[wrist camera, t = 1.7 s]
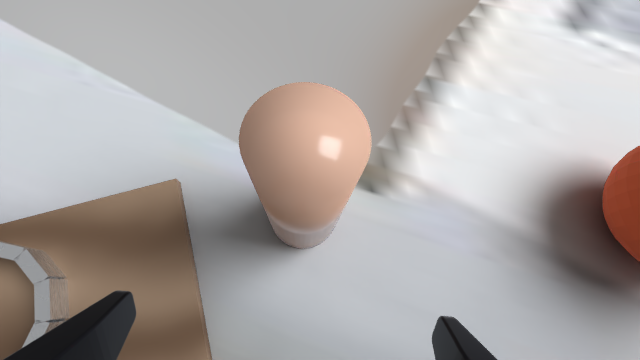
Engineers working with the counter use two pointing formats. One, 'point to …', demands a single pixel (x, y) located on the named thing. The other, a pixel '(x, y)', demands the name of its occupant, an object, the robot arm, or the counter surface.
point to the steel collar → (41, 287)
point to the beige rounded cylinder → (304, 158)
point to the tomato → (624, 202)
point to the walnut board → (115, 270)
